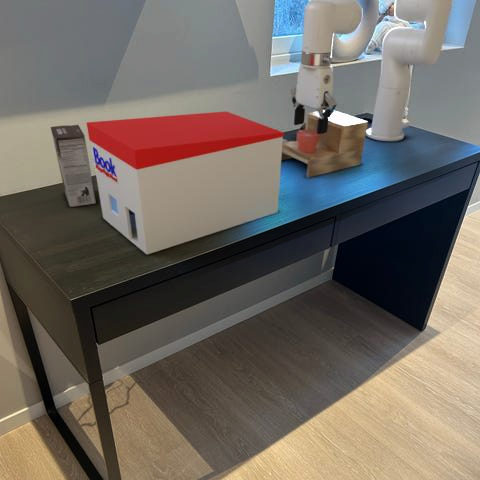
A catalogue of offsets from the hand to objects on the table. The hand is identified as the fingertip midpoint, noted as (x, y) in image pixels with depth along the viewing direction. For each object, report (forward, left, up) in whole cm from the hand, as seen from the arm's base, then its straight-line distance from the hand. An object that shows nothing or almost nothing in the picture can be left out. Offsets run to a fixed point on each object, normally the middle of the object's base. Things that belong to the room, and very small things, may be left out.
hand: (310, 128), depth 133 cm
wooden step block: (-4, 0, -10) cm, 11 cm away
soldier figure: (-3, -16, -10) cm, 19 cm away
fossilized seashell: (-19, -20, -10) cm, 29 cm away
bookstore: (+45, +12, -10) cm, 47 cm away
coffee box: (+63, -11, -10) cm, 65 cm away
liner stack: (+1, 0, -6) cm, 6 cm away
